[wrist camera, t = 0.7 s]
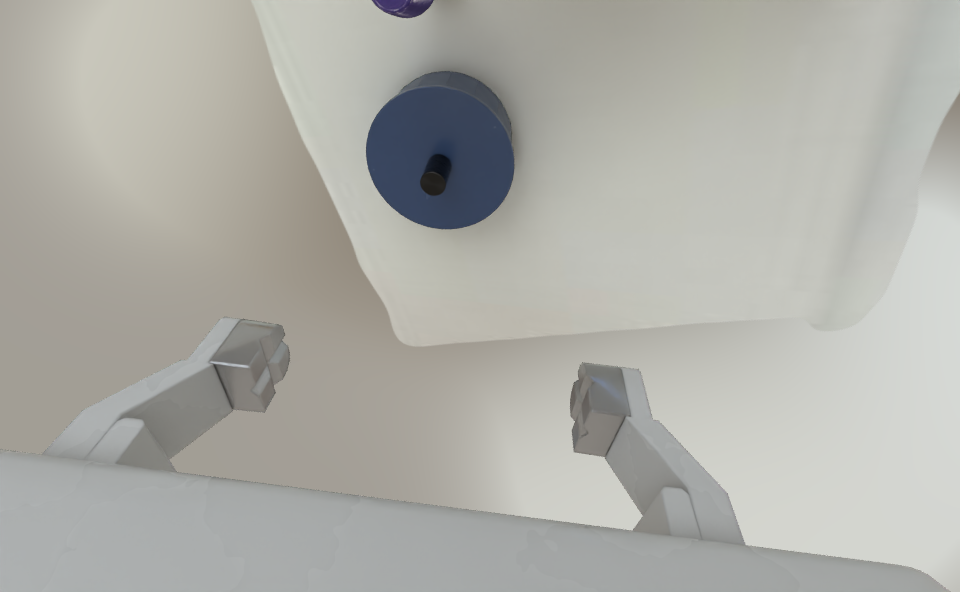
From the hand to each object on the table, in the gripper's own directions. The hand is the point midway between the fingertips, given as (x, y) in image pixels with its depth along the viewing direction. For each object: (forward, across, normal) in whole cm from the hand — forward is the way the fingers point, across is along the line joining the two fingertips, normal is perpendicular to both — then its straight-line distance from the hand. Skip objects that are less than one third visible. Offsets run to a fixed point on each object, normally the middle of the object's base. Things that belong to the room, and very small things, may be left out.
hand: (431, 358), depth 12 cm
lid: (+34, +5, +10) cm, 36 cm away
